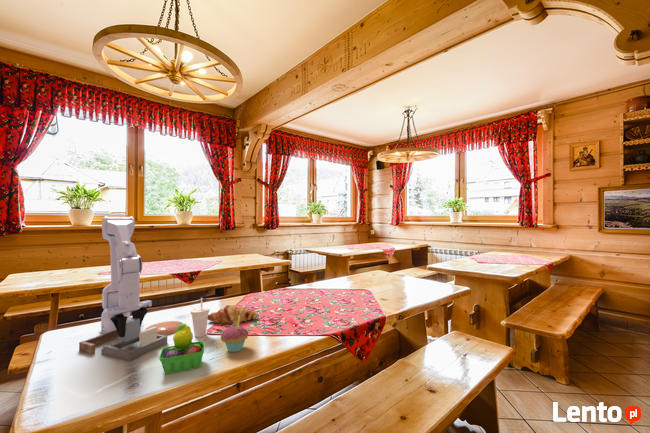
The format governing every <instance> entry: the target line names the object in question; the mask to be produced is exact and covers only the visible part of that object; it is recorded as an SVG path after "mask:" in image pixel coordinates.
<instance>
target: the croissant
mask: <svg viewBox="0 0 650 433" xmlns="http://www.w3.org/2000/svg"><path fill="white" fill-rule="evenodd" d="M239 314H240V321H239V323H242V321H245V322H247V320H248V321H251V319H253V320H255V319H257V318H258V317H259V313H258V312H255V311H254V310H252V309H251V310H249V309H248V308H246V307H244V306H242V307H239V306H236V305H234V304H233V305H232V304H229V305H225V307H224V308H220V309H219V310H217V312H212V313H209V314H208V320H207V321H210V322H213V323H215V324H217V325H218V324H221V325H229V324H230V325H232V324H231V323H234V324H235V322H234V321H235V320H236V318H237V321H238V315H239Z"/></svg>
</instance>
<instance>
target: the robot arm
mask: <svg viewBox="0 0 650 433" xmlns="http://www.w3.org/2000/svg"><path fill="white" fill-rule="evenodd" d="M135 223H136V222H135V219H134V217H133V216H103V217H102V220H101V233H102V234H101V236H102V239H103V240H106V241H108V244H109V250H110V252H109V253H110V254H109V255H110V258H109V259H110V283H109V284H107V285H106V286H105V287H104V288H103V289H102V293H101V306H102V309H103V311H102V313H101V315H100V330H99V331H98V333H100V334H105V333H108V332H111V331H114V330H117V333H118V337H124V336H125V325H126V320H127V318H130V317H131V316H132V318H138V319H140V328H141V327H142V323H143V320H144V318H145V316H146V315H147V313H148V309H147V307H148V308H150V307H152V304H153V302H152V301H153V300H143V301H140V287H141V286H140V282H141V281H140V277H141V275H140V274H141V273H142V272H143V271H142V270H143V261H142V257H141V255H140V254H138V252H137V248H136V245H135V243H133V242H132V241H131V238H132V236H133V234H134V232H135V228H136V226H135V225H136V224H135Z"/></svg>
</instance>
